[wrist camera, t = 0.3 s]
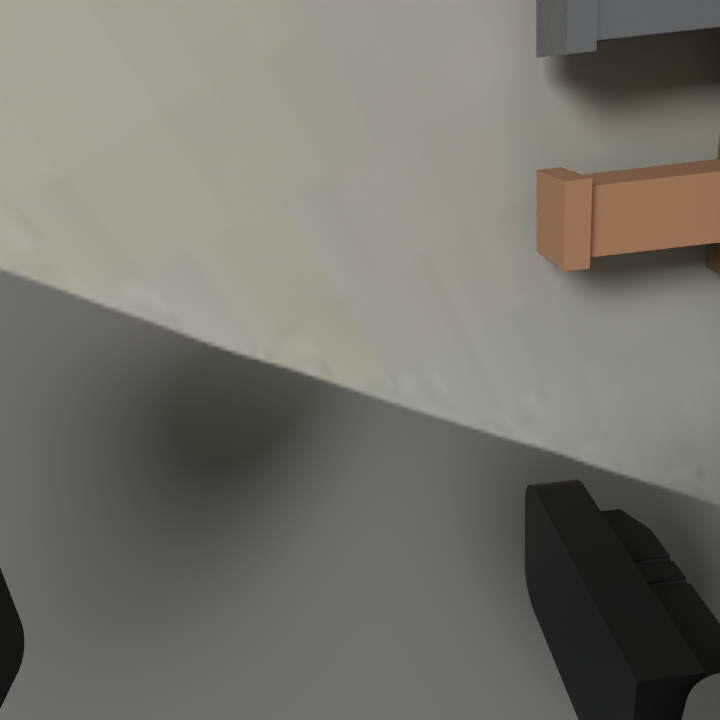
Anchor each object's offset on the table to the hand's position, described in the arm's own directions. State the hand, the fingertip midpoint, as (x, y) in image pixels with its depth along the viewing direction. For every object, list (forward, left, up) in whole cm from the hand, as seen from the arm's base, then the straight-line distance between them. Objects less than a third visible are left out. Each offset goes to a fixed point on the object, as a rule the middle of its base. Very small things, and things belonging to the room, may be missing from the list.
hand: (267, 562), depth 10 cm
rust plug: (0, +18, -25) cm, 31 cm away
